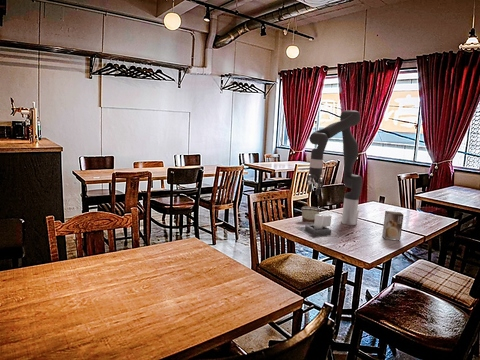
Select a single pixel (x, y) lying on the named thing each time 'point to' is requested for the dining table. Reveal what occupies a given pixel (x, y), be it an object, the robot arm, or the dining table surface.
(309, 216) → the food container
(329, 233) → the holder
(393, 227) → the coffee box
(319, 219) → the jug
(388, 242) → the dining table surface
